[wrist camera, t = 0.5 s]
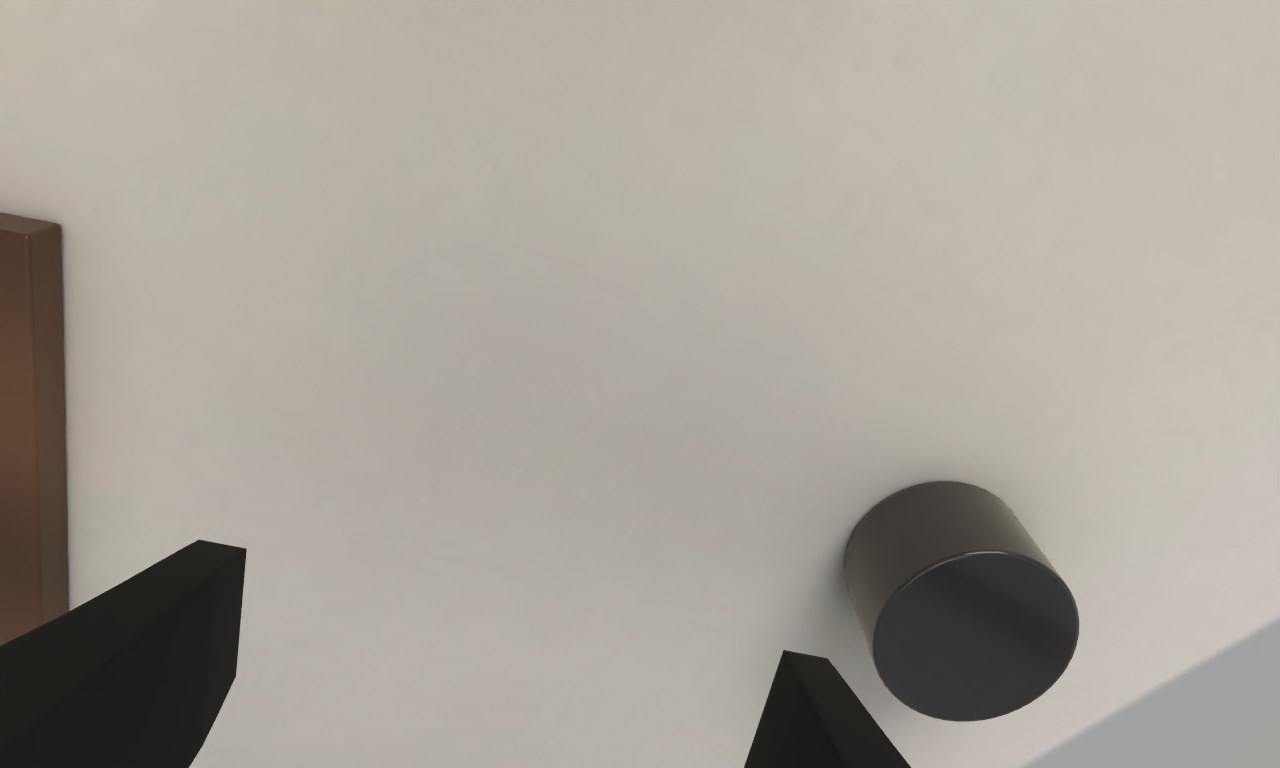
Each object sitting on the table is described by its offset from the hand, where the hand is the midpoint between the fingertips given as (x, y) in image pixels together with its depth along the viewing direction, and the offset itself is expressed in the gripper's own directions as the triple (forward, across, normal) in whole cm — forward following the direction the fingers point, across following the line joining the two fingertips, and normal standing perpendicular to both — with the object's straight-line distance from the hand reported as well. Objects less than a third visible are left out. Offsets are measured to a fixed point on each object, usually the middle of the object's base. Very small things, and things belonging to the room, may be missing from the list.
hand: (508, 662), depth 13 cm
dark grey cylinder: (+10, -10, +2) cm, 14 cm away
